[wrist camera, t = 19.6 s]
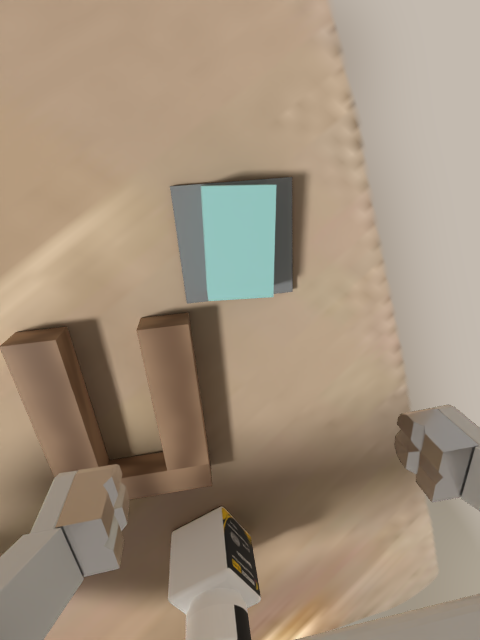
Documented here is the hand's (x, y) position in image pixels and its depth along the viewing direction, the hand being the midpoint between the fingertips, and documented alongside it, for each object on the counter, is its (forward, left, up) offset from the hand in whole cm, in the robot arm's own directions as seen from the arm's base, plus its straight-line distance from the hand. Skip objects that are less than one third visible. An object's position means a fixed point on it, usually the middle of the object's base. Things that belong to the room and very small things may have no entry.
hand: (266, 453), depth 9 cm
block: (+2, +3, -19) cm, 19 cm away
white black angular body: (-4, -32, -20) cm, 38 cm away
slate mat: (+2, +3, -19) cm, 19 cm away
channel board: (-10, -12, -19) cm, 25 cm away
